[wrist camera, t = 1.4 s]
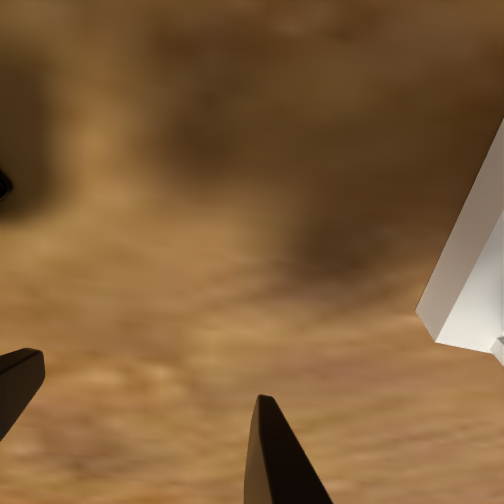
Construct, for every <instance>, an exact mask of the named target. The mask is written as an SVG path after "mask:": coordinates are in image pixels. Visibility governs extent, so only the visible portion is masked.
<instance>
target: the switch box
mask: <svg viewBox="0 0 504 504" xmlns="http://www.w3.org/2000/svg"><path fill="white" fill-rule="evenodd" d="M415 311H416V313H417V315H418V316H419V318H420V319H421V321H422V322H423V324H424V326H425V327H426V329H427V330H428V332H429V333H430V335H431V336H432V338H433V340H434V341H435V342H437V343H442V344H447V345H452V346H457V347H462V348H467V349H472V350H477V351H482V352H487V353H492V354H494V356H495V357H496V358H497V359H498V360H499V361H500V363H501V364H502V365H503V366H504V119H503V121H502V123H501V125H500V127H499V130H498V132H497V134H496V136H495V138H494V140H493V143H492V145H491V147H490V149H489V151H488V153H487V156H486V158H485V160H484V162H483V164H482V166H481V169H480V171H479V173H478V175H477V177H476V179H475V182H474V184H473V186H472V188H471V190H470V192H469V195H468V197H467V199H466V201H465V203H464V206H463V208H462V210H461V212H460V214H459V216H458V219H457V221H456V223H455V225H454V227H453V229H452V232H451V234H450V236H449V238H448V240H447V242H446V245H445V247H444V249H443V251H442V253H441V255H440V258H439V260H438V262H437V264H436V266H435V268H434V271H433V273H432V275H431V277H430V279H429V282H428V284H427V286H426V288H425V290H424V292H423V295H422V297H421V299H420V301H419V303H418V305H417V308H416V310H415Z"/></svg>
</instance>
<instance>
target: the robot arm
mask: <svg viewBox="0 0 504 504" xmlns="http://www.w3.org/2000/svg"><path fill="white" fill-rule="evenodd" d="M0 183H1V184H2V185H3V188H2V187H1V186H0V201H2V200H3V199H4V198H5V197H6V196H7V195H8V194H9V193H10V192H11V191H12V189H13V186H12V183H11V182H10V180H9V179H8V178H7V177H6V176H5V175H4V174H3V173H2V172H1V171H0ZM44 378H45V365H44V356H43V352H42V351H40V350H37V349H32V348H23V349H20V350H17V351H14V352H10V353H7V354H4V355H1V356H0V441H1V440H2V439H3V438H4V436H5V435H6V434H7V433H8V431H9V430H10V429H11V427H12V426H13V424H14V423H15V422H16V420H17V419H18V417H19V416H20V415H21V413H22V412H23V410H24V409H25V408H26V406H27V405H28V403H29V402H30V401H31V399H32V398H33V396H34V395H35V394H36V392H37V391H38V389H39V388H40V387H41V385H42V383H43V381H44ZM244 504H334V503H333V502H332V500H331V498H330V496H329V495H328V493H327V491H326V489H325V487H324V486H323V484H322V482H321V480H320V479H319V477H318V475H317V473H316V472H315V470H314V468H313V466H312V464H311V463H310V461H309V459H308V457H307V456H306V454H305V452H304V450H303V449H302V447H301V445H300V443H299V441H298V440H297V438H296V436H295V434H294V433H293V431H292V429H291V427H290V426H289V424H288V422H287V420H286V418H285V417H284V415H283V413H282V411H281V410H280V408H279V406H278V404H277V403H276V401H275V399H274V398H273V397H271V396H266V395H262V394H260V395H258V397H257V400H256V404H255V408H254V412H253V415H252V420H251V427H250V435H249V443H248V452H247V460H246V469H245V479H244Z"/></svg>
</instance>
